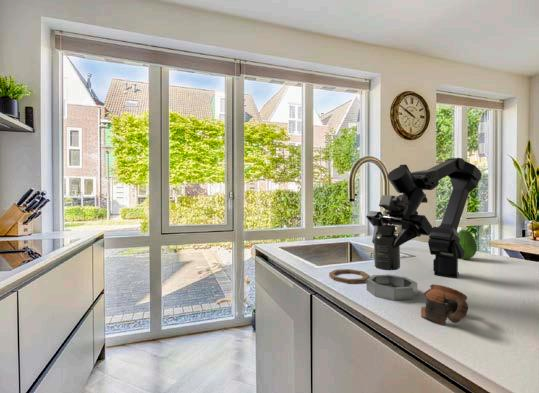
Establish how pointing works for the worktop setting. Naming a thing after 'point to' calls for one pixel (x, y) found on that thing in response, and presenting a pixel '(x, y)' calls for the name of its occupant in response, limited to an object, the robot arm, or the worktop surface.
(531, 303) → the worktop surface
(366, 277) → the walnut ring
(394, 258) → the supplement bottle
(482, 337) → the worktop surface
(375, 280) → the hub socket
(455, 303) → the pottery mug
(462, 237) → the avocado
